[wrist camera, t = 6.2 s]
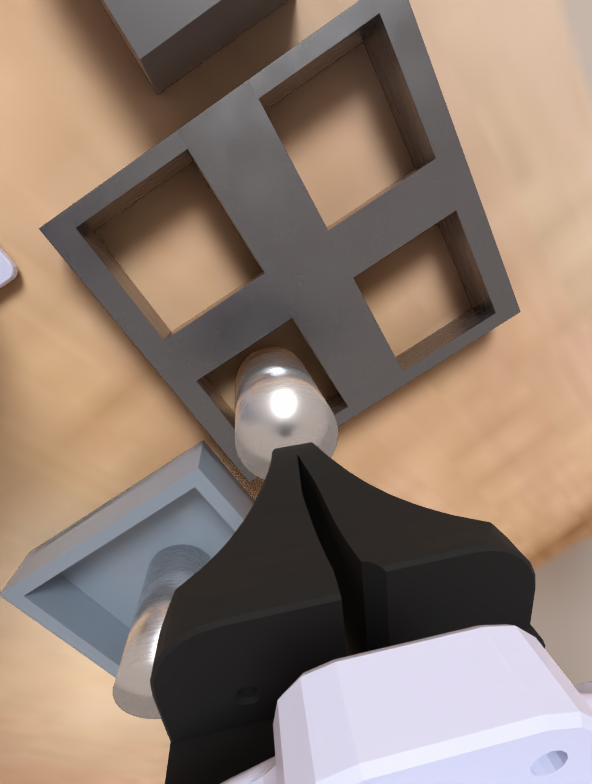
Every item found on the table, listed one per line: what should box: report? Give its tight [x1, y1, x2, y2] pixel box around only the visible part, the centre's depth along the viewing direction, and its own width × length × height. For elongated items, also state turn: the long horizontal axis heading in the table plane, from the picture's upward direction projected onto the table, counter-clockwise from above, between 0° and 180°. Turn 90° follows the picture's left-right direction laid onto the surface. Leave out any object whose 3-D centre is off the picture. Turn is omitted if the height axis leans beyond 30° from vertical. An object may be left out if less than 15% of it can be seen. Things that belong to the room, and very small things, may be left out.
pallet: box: [39, 0, 520, 482], centre depth 18 cm, size 17×15×2 cm
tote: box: [0, 441, 255, 678], centre depth 23 cm, size 13×13×3 cm
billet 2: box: [235, 347, 338, 480], centre depth 18 cm, size 4×4×7 cm
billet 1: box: [113, 544, 211, 719], centre depth 20 cm, size 4×4×7 cm
